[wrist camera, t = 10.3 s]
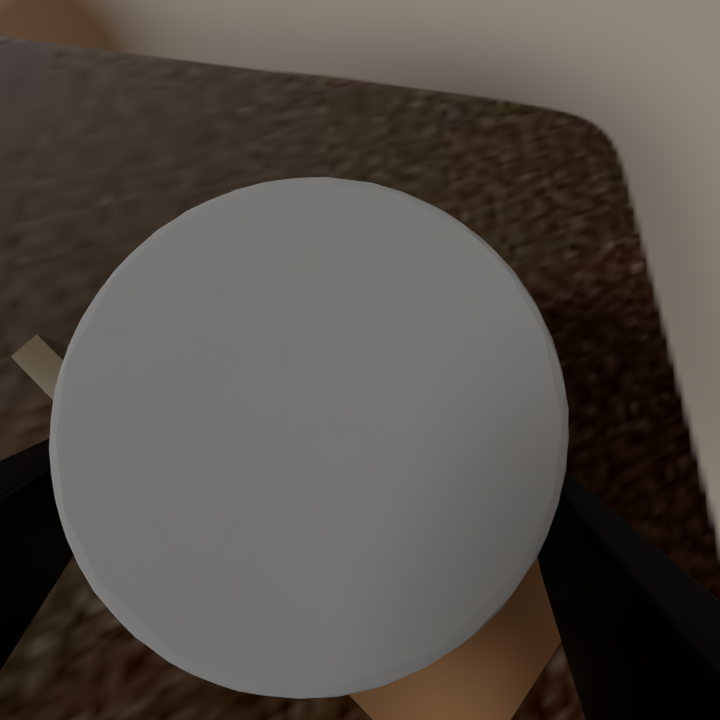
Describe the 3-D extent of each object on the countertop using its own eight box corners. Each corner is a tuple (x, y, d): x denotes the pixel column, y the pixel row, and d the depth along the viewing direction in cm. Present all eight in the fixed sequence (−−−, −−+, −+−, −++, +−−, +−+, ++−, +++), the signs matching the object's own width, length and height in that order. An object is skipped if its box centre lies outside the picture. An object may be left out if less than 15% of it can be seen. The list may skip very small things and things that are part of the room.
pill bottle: (440, 374, 17) (710, 113, 4) (424, 556, 16) (815, 1053, 2) (272, 351, 18) (43, 27, 4) (237, 530, 16) (-339, 874, 3)
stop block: (424, 702, 14) (455, 804, 10) (342, 621, 15) (339, 685, 11) (548, 525, 16) (620, 548, 12) (470, 457, 17) (511, 456, 12)
